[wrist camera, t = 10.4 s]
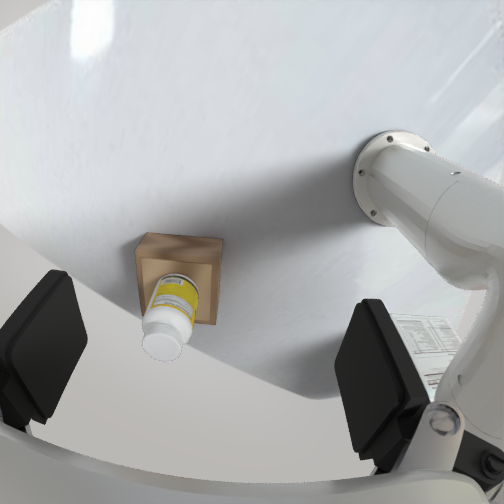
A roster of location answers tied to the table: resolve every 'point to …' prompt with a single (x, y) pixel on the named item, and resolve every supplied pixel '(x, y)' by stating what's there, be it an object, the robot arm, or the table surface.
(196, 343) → the table surface
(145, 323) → the supplement bottle
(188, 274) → the brown square tray
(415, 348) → the supplement box
